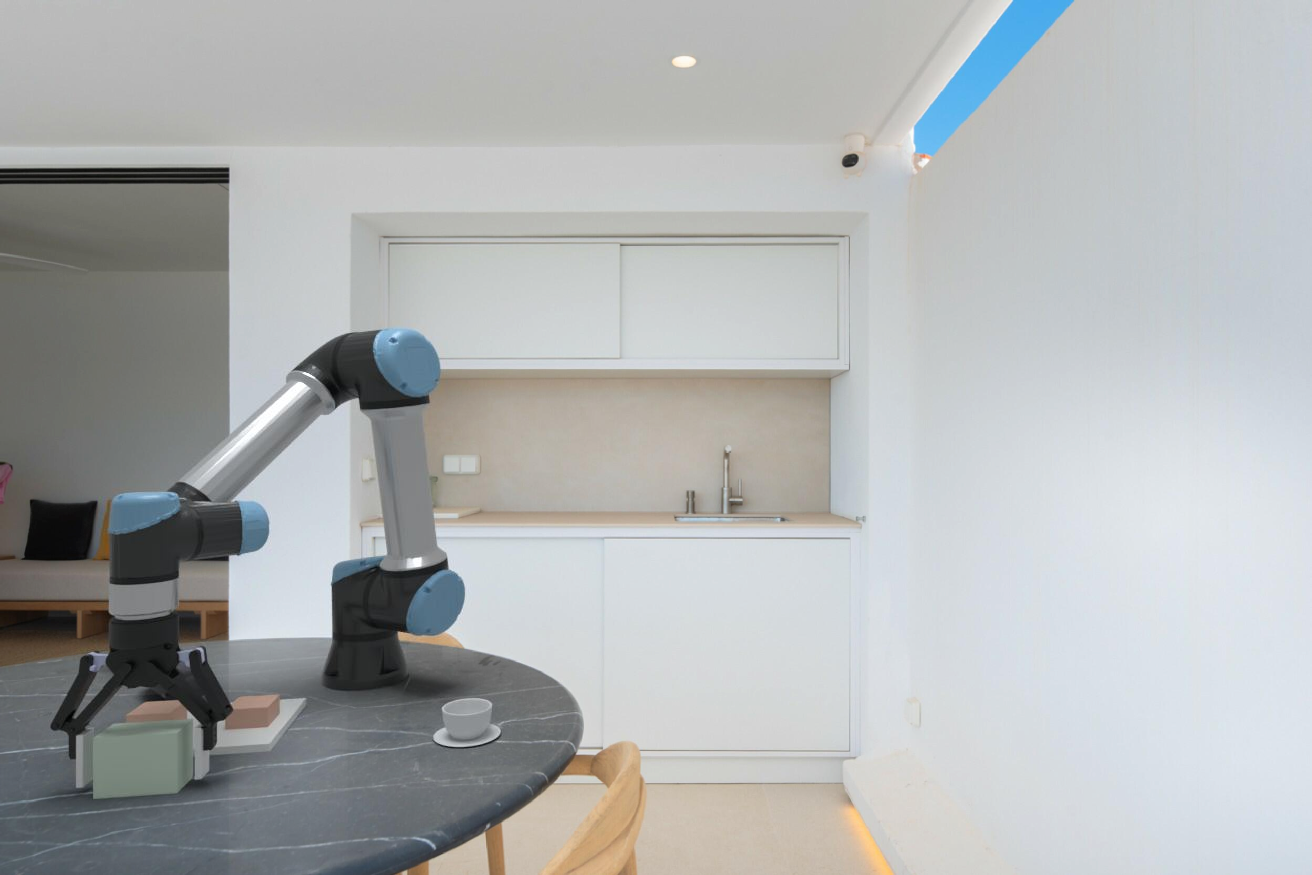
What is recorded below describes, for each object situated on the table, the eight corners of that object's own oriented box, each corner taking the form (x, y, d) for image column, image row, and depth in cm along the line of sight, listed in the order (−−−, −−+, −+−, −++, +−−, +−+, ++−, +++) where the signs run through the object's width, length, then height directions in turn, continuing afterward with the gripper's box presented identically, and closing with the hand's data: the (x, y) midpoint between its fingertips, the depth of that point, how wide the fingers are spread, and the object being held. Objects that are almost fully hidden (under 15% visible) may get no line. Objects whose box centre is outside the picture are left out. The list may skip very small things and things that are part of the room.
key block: (193, 779, 103) (193, 718, 103) (177, 796, 98) (176, 732, 98) (113, 784, 102) (113, 723, 102) (93, 802, 97) (93, 737, 97)
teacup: (467, 755, 111) (467, 722, 111) (418, 741, 116) (418, 709, 116) (514, 732, 120) (514, 702, 120) (467, 720, 125) (467, 691, 125)
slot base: (306, 705, 132) (306, 680, 132) (269, 751, 112) (269, 722, 112) (149, 714, 127) (149, 688, 127) (83, 764, 108) (82, 734, 108)
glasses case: (130, 692, 138) (130, 648, 138) (196, 678, 146) (196, 637, 146) (164, 716, 126) (163, 668, 126) (233, 700, 134) (233, 655, 134)
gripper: (258, 603, 106) (258, 759, 106) (52, 610, 101) (52, 773, 101) (239, 615, 98) (239, 783, 98) (16, 623, 94) (15, 800, 94)
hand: (144, 779), depth 100 cm, fingers open, 13 cm apart
